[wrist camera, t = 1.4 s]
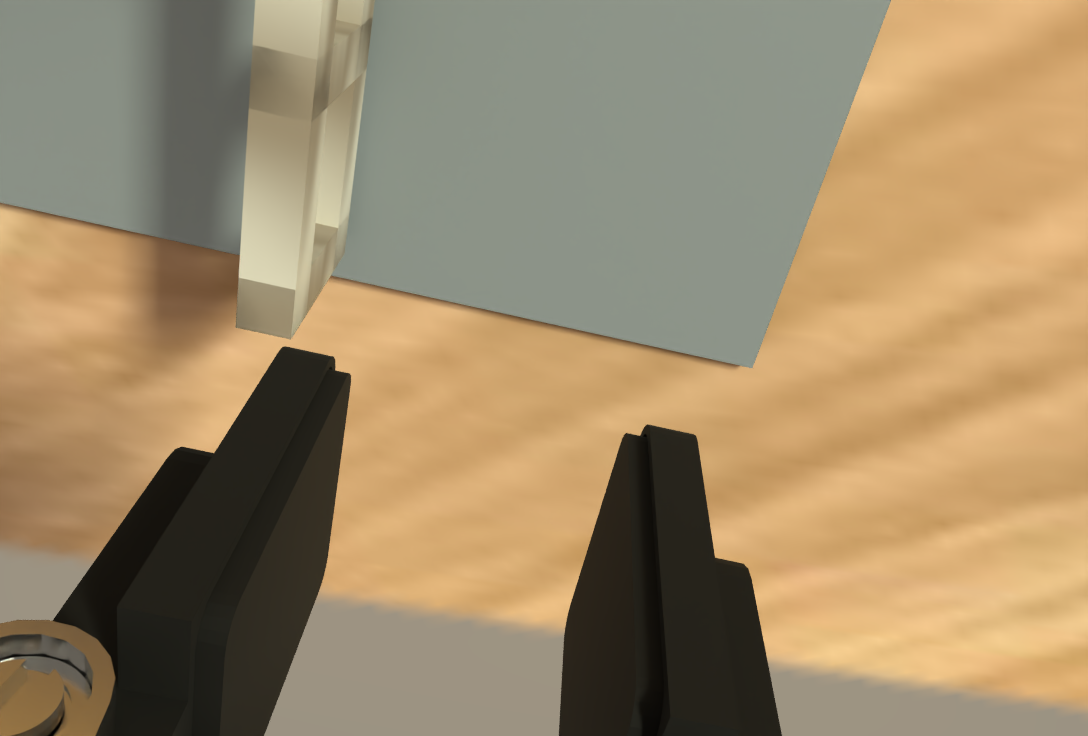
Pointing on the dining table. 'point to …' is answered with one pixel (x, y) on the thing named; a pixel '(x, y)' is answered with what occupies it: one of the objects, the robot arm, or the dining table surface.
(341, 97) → the fence gate
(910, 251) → the dining table surface
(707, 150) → the card
